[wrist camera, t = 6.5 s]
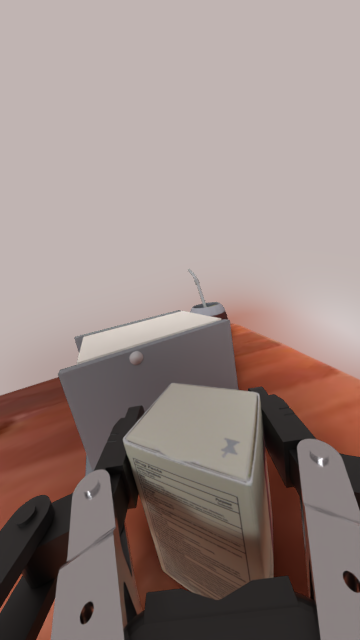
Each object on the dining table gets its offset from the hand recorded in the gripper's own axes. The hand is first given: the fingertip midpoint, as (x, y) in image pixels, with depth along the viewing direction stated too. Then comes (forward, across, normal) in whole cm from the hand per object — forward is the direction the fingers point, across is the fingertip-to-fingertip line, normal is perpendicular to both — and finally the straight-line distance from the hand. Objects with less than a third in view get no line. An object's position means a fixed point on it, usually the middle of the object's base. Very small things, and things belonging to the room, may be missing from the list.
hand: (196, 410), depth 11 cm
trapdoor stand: (+10, +5, +6) cm, 12 cm away
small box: (-2, 0, +6) cm, 7 cm away
